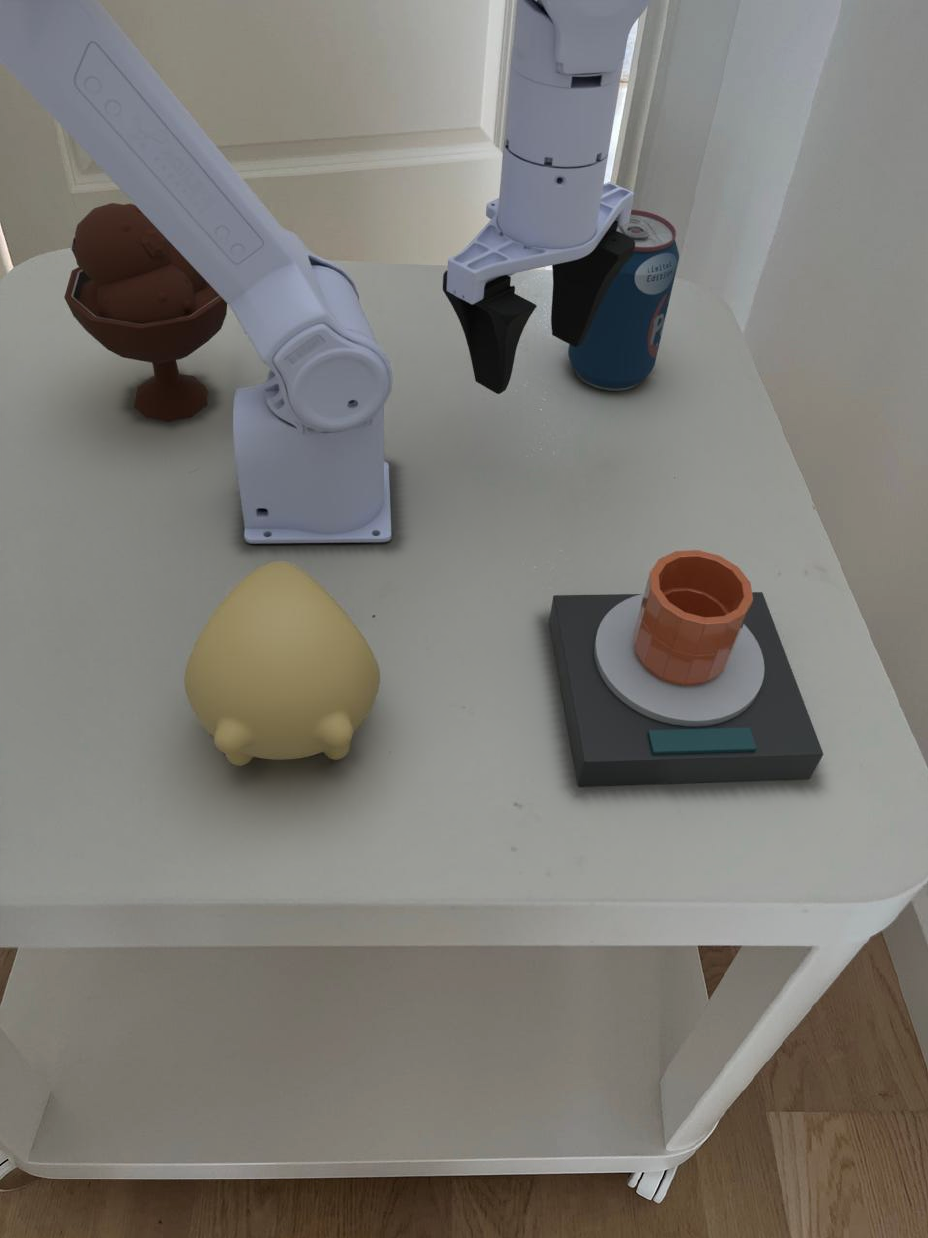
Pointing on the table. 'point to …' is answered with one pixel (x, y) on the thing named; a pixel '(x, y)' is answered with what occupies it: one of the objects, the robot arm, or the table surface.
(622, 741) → the scale
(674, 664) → the terracotta cup
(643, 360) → the soda can
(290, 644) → the toy pig
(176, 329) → the ice cream bowl
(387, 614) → the table surface
